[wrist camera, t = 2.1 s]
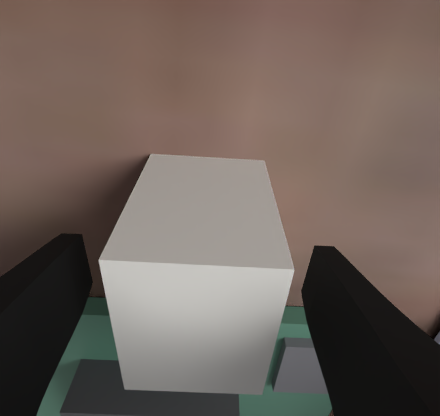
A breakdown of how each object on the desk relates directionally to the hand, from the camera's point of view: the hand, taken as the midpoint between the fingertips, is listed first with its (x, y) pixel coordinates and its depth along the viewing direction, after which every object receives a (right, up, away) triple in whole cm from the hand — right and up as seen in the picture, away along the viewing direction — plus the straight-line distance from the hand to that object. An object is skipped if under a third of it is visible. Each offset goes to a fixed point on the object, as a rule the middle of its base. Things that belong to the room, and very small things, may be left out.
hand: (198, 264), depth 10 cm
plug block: (0, +2, +2) cm, 3 cm away
